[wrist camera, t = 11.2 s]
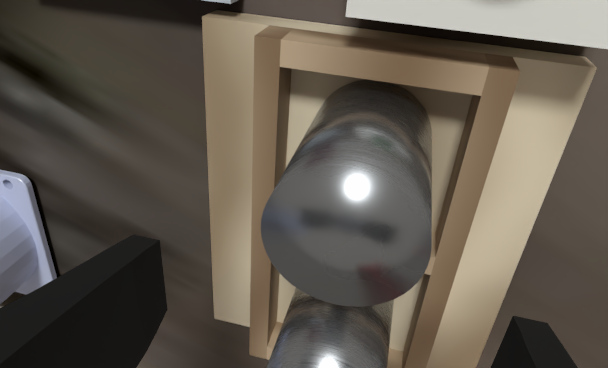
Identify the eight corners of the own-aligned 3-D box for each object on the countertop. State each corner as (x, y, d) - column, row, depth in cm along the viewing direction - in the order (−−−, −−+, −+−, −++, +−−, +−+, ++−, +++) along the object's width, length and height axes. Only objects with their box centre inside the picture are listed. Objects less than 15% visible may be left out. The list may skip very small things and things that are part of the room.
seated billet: (296, 312, 21) (253, 439, 16) (303, 241, 19) (255, 362, 14) (385, 332, 20) (370, 472, 15) (402, 262, 18) (390, 396, 13)
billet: (318, 185, 17) (271, 297, 12) (309, 80, 15) (249, 163, 10) (429, 189, 16) (427, 314, 11) (435, 78, 14) (436, 170, 9)
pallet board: (223, 300, 23) (201, 342, 21) (216, 9, 16) (181, 26, 14) (468, 358, 22) (473, 411, 19) (585, 56, 14) (614, 84, 12)
